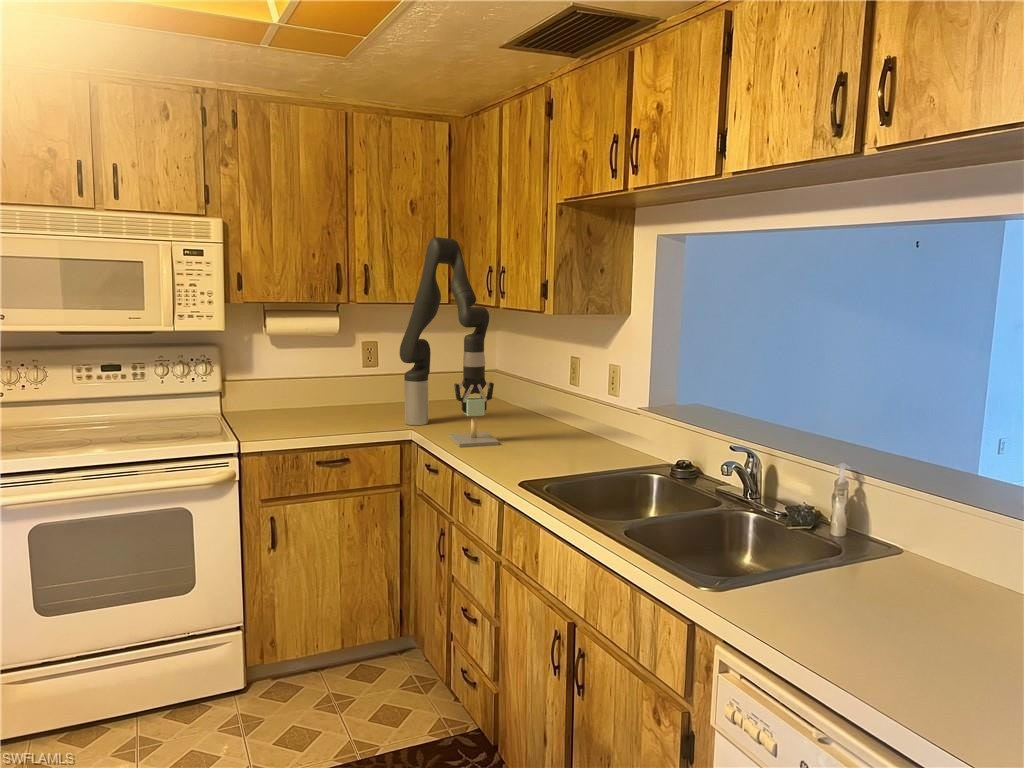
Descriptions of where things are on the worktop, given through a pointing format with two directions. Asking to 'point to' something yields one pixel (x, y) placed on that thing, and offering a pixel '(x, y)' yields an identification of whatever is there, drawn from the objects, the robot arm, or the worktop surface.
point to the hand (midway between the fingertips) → (474, 412)
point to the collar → (475, 406)
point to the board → (475, 441)
